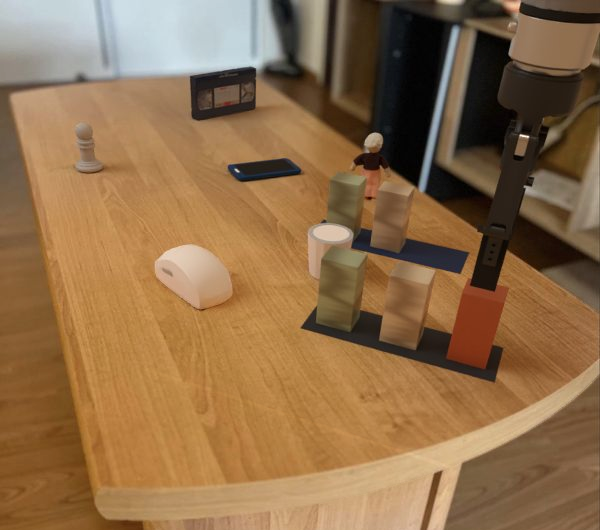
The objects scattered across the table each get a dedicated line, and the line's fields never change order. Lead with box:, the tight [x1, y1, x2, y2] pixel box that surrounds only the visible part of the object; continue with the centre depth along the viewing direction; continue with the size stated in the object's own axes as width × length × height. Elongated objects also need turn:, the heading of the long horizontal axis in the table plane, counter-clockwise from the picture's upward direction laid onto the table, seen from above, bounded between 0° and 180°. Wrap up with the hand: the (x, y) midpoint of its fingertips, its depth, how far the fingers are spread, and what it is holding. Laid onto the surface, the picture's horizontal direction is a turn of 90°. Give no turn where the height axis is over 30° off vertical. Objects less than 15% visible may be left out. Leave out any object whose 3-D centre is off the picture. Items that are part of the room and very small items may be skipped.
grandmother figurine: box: [349, 132, 392, 203], centre depth 117 cm, size 8×4×13 cm, turn 88°
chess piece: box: [74, 122, 104, 174], centre depth 123 cm, size 5×5×9 cm
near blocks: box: [316, 246, 437, 350], centre depth 83 cm, size 14×4×10 cm, turn 68°
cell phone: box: [227, 157, 302, 182], centre depth 129 cm, size 7×14×1 cm, turn 115°
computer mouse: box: [154, 243, 233, 310], centre depth 91 cm, size 6×13×6 cm, turn 42°
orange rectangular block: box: [446, 277, 510, 369], centre depth 79 cm, size 5×4×10 cm
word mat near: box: [300, 305, 504, 384], centre depth 85 cm, size 26×8×1 cm, turn 68°
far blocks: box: [325, 171, 416, 253], centre depth 104 cm, size 13×4×10 cm, turn 68°
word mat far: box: [306, 219, 470, 275], centre depth 106 cm, size 26×8×1 cm, turn 68°
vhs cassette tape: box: [189, 66, 257, 121], centre depth 156 cm, size 18×3×10 cm, turn 130°
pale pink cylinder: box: [307, 222, 354, 280], centre depth 96 cm, size 7×7×7 cm
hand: (492, 260), depth 74 cm, fingers open, 13 cm apart
